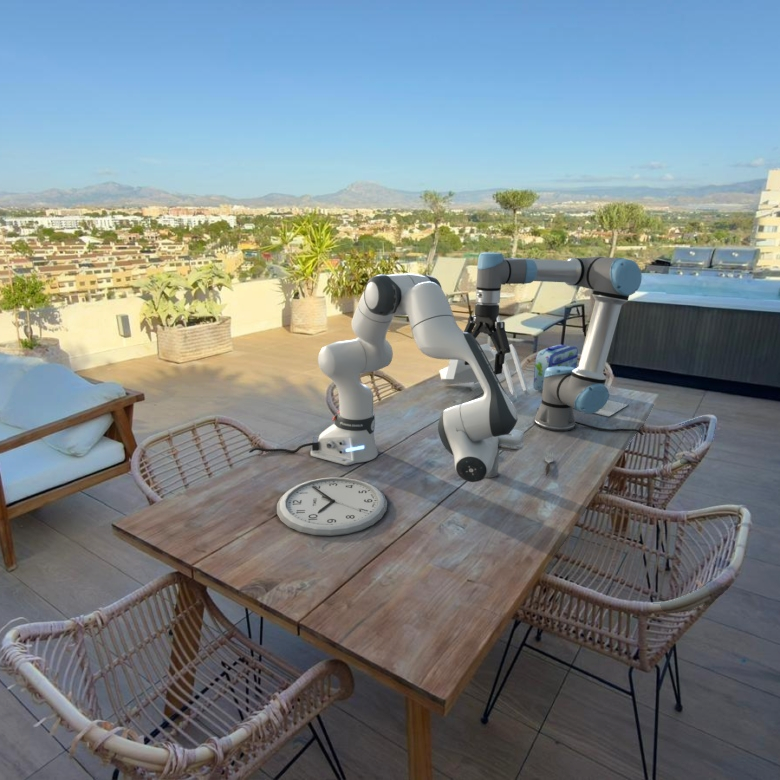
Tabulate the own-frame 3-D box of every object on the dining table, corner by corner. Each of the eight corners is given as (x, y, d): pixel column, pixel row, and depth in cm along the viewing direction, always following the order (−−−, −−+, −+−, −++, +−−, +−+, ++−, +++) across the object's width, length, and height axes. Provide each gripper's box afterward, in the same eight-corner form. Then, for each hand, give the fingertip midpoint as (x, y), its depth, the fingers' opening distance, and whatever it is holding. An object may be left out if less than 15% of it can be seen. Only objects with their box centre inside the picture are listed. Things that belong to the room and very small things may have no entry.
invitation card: (608, 416, 214) (573, 407, 224) (608, 416, 214) (573, 408, 224) (628, 404, 229) (594, 396, 238) (628, 405, 229) (594, 397, 238)
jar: (484, 468, 166) (488, 413, 161) (500, 473, 163) (505, 417, 158) (476, 474, 162) (480, 418, 156) (493, 479, 159) (497, 422, 154)
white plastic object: (461, 429, 252) (437, 405, 227) (444, 352, 274) (420, 323, 250) (535, 404, 240) (518, 377, 215) (510, 326, 262) (492, 293, 237)
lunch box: (550, 397, 237) (555, 352, 231) (529, 391, 245) (533, 348, 238) (577, 386, 255) (582, 344, 249) (556, 381, 262) (561, 340, 256)
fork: (541, 476, 161) (542, 470, 161) (545, 456, 176) (546, 450, 175) (550, 477, 161) (551, 471, 160) (553, 457, 175) (554, 451, 174)
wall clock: (392, 527, 129) (268, 531, 127) (391, 533, 130) (269, 537, 127) (383, 473, 158) (282, 475, 155) (383, 478, 158) (282, 480, 156)
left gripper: (523, 438, 130) (527, 419, 142) (443, 428, 136) (453, 411, 148) (521, 461, 132) (525, 441, 144) (441, 450, 138) (452, 431, 150)
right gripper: (451, 299, 172) (448, 362, 178) (508, 309, 152) (502, 379, 158) (468, 298, 176) (465, 359, 182) (526, 307, 156) (519, 376, 163)
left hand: (488, 426), depth 146 cm, fingers open, 8 cm apart
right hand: (482, 369), depth 170 cm, fingers open, 13 cm apart
